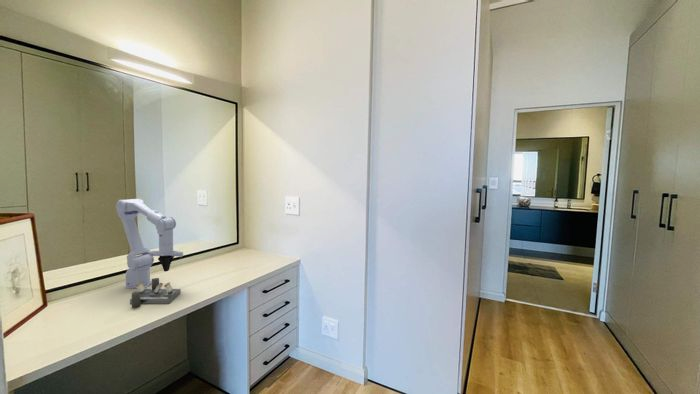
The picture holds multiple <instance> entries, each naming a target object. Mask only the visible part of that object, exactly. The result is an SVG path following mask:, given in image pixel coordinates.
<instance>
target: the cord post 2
mask: <svg viewBox="0 0 700 394" xmlns="http://www.w3.org/2000/svg"><path fill="white" fill-rule="evenodd" d="M151 281H152V284H151V289H156V287H157V285H158V284H160V278H159V277H155V278H151Z"/></svg>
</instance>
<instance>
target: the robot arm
mask: <svg viewBox="0 0 700 394" xmlns="http://www.w3.org/2000/svg"><path fill="white" fill-rule="evenodd" d="M115 210H116V213H117V215H118V218H120V221H121V223H122V226H123V230H124V233H125V236H126V240H127V242H128V246H129V248H130V252H129V253H128V254H127V255H126V261H127V262H126V264H127V267H128V269H127V270H126V272H125V286H124V289H137V287H136V285H137V284H139V283H141V282H142V284H143V286H144V288H145V289H147V287H149V286H150V285H152V280H151V276H150V275H151V270H150V268H151V267H152V265H153V264H154V262H155V257H158V258H157V260H158V261H159V262H160V264H161V267H162V269H163V271H164V272H168V271H170V268H171V264H172V261H173V260H174V258H175V257H178V258H182V257H183V256H184V252H183V251H178V250H174V229H175V228H176V226H177V222H176V219H175V218H173V216H166V215H165V214H163V213H161V212H160V211H159V210H158V209H156V210H153V209H151V208H150V207H149V206H147V205H146V204H145V201H144V200H143V199H142V198H131V199H118V200H117V202H116V204H115ZM140 214H142V215H144V216H145V217H146V220H147V221H148V222H150V223H151V224H153V225H154V226H155V229H156V232H157V234H158V250H152V251H151V250H150V249H148V248H145V247H144V244H143V241H142V238H141V234H140V232H139V229H138V226H137V223H136V220H135V218H136V217H137V216H139V215H140Z"/></svg>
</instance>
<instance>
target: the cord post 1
mask: <svg viewBox="0 0 700 394" xmlns="http://www.w3.org/2000/svg"><path fill="white" fill-rule="evenodd" d="M131 298H132V304H131V308H132V309H136V308H139V307H141V305H142V304H140V292H139V291H138V290H137V291H133V292H132V293H131Z"/></svg>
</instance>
